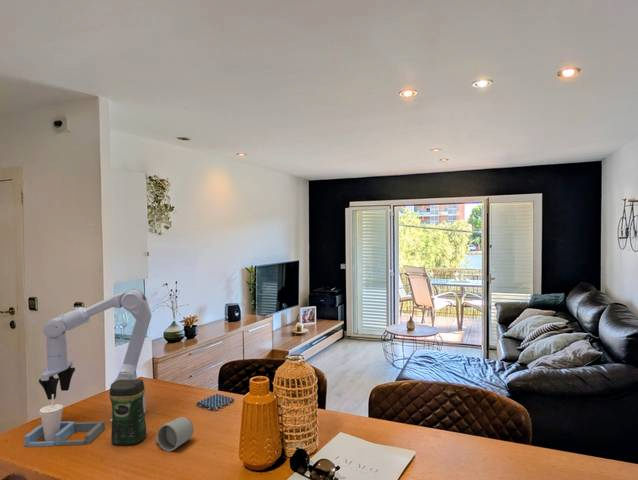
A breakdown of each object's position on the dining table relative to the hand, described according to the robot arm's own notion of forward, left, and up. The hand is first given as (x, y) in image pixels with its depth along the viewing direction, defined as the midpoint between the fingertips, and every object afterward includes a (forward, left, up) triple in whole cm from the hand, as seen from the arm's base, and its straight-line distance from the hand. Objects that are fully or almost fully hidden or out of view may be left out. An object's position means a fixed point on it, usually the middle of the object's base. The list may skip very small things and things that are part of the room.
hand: (58, 394), depth 142 cm
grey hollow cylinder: (-43, +16, -11) cm, 47 cm away
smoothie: (-3, +9, -11) cm, 14 cm away
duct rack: (-7, +9, -10) cm, 15 cm away
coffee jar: (-28, +12, -11) cm, 32 cm away
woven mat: (-49, -13, -11) cm, 52 cm away
